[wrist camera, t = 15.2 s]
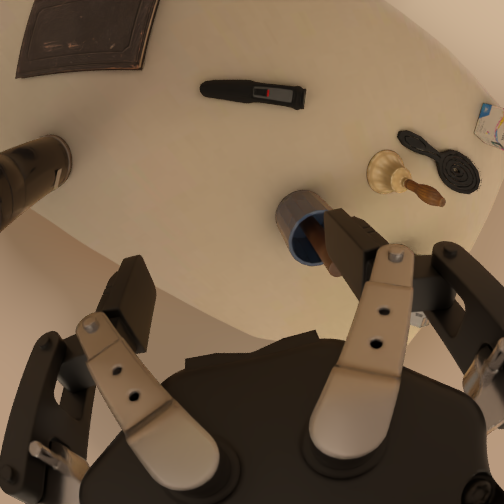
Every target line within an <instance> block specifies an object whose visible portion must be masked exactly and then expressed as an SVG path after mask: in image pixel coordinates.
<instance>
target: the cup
mask: <svg viewBox="0 0 504 504" xmlns="http://www.w3.org/2000/svg"><path fill="white" fill-rule="evenodd" d="M329 210H333V209H332V208H331V207H330V206H329V205H328V204H327V203H326V202H325V201H324V200H323V199H322V198H321V197H320V196H319V195H317V194H316V193H314V192H312V191H307V190H300V191H295V192H293V193H291V194H289V195H287V196H286V197H285V198H284V199H283V200H282V201H281V203H280V204H279V206H278V208H277V211H276V223H277V227H278V229H279V231H280V233H281V235H282V237H283V239H284V241H285V243H286V245H287V247H288V249H289V251H290V253H291V254H292V256H293V257H294V259H295V260H297V261H298V262H300V263H301V264H304V265H308V266H318V265H323V264H324V263H323V262H322V260H321V259H320V257H319V255H318V254H317V252H316V251H315V249H314V248H313V246H312V245H311V243H310V241H309V240H308V238H307V237H306V235H305V234H304V232H303V231H302V229H301V228H300V226H299V224H300V223H301V222H302V221H303V220H304V219H306V218H307V217H309V216H312V215H313V216H314V218H315V219H316V220H317V221H318V222H319V224H320V225H321V226H322V227H323V229H324V212H325V211H329Z"/></svg>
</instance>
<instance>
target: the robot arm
mask: <svg viewBox="0 0 504 504" xmlns="http://www.w3.org/2000/svg"><path fill="white" fill-rule="evenodd" d="M71 168H72V156H71V152H70V149H69V147H68V145H67V144H66V142H65V141H64V140H63V139H62V138H60V137H58V136H56V135H45V136H42V137H40V138H38V139H35V140H32V141H29V142H26V143H24V144H21V145H18V146H16V147H13V148H10V149H8V150H5V151H3V152H1V153H0V232H1V231H2V230H4V228H6V227H7V226H8V225H9V224H10V223H12V222H13V221H14V220H15V219H16V218H17V217H19V216H20V215H21V214H22V213H23V212H25V211H26V210H27V209H29V208H30V207H31V206H32V205H34V204H35V203H36V202H38V201H39V200H40V199H42V198H43V197H44V196H46V195H47V194H48V193H50V192H51V191H54V190H55V189H57V188H58V187H59V186H61V185H62V184H63V183H64V182H65V181H66V180H67V178H68V177H69V174H70V172H71ZM324 230H325V244H326V250H327V253H328V255H329V257H330V259H331V260H332V262H333V263H334V265H335V266H336V268H337V269H338V270H339V272H340V273H341V275H342V276H343V278H344V279H345V281H346V282H347V284H348V285H349V287H350V288H351V290H352V291H353V293H354V294H355V296H356V297H357V299H358V300H359V304H358V307H357V310H356V313H355V316H354V319H353V322H352V325H351V328H350V330H349V333H348V336H347V339H346V341H343V340H338V339H319V337H318V335H317V332H316V330H313V331H309V332H305V333H302V334H298V335H294V336H290V337H286V338H283V339H281V340H279V341H276V342H275V343H272V344H270V345H268V346H266V347H264V348H261V349H259V350H257V351H255V352H251V353H214V354H210V355H204V356H198V357H193V358H187V359H185V369H183V370H181V371H179V372H177V373H175V374H173V375H172V376H170V377H169V378H167V379H166V380H165V381H163V382H162V383H161V384H160V383H159V382H158V381H157V380H156V379H155V377H154V376H153V375H152V374H151V372H150V371H149V370H148V369H147V368H146V367H145V365H144V364H143V363H142V362H141V360H140V359H139V358H138V356H137V355H136V354H138V353H145V352H146V351H147V345H148V338H149V333H150V327H151V322H152V316H153V311H154V305H155V301H156V289H155V285H154V282H153V280H152V278H151V276H150V273H149V271H148V269H147V267H146V264H145V262H144V260H143V258H142V256H141V255H136V256H132V257H128V258H125V259H123V261H122V263H121V266H120V268H119V270H118V271H117V272H116V273H115V274H114V275H113V276H112V277H111V278H110V279H109V281H108V283H107V286H106V289H105V290H104V293H103V295H102V297H101V300H100V302H99V304H98V307H97V309H96V312H94V313H91V314H89V315H87V316H86V317H84V318H83V319H82V320H81V321H80V322H79V324H78V325H77V328H76V334H75V335H73V336H70V337H68V338H66V339H62V338H61V337H60V335H59V334H58V333H57V332H55V331H51V332H48V333H46V334H44V335H42V336H41V337H40V338H39V339H38V340H37V342H36V343H35V345H34V348H33V350H32V352H31V355H30V357H29V360H28V362H27V365H26V368H25V370H24V373H23V376H22V379H21V381H20V384H19V387H18V390H17V394H16V397H15V399H14V403H13V406H12V409H11V413H10V416H9V420H8V424H7V428H6V432H5V436H4V441H3V445H2V450H1V455H0V487H1V488H2V490H3V491H4V492H5V493H6V494H8V495H10V496H12V497H14V498H16V499H18V500H20V501H22V502H24V503H25V504H504V491H503V490H502V489H501V487H499V485H498V484H497V483H496V482H495V480H494V479H493V478H492V475H491V473H490V469H489V464H488V459H487V458H488V457H487V445H486V437H487V435H488V434H489V433H491V432H492V431H494V430H495V429H497V428H498V429H504V287H503V286H502V285H501V284H500V283H499V282H498V281H497V280H496V279H495V278H494V277H493V276H492V275H491V274H490V273H489V272H488V271H487V270H486V269H485V268H484V267H483V266H482V265H481V264H480V263H479V262H478V261H477V260H476V259H474V258H473V257H472V256H471V255H470V254H469V253H468V252H467V251H466V250H465V249H464V248H462V247H461V246H460V245H458V244H456V243H453V242H448V241H442V242H438V243H436V244H435V245H434V246H433V251H432V255H419V256H414V253H413V251H412V250H411V249H410V248H408V247H406V246H404V245H400V244H389V243H388V242H387V241H386V240H385V239H384V238H383V237H382V236H381V235H380V234H379V233H377V232H375V230H374V229H373V228H372V227H370V225H369V224H368V223H366V222H365V221H364V220H362V219H360V218H357V217H355V216H354V217H351V216H349V215H348V214H347V213H346V212H345V211H344V210H343V209H342V208H339V209H334V210H329V211H325V212H324ZM456 293H457V294H458V295H459V296H460V297H461V298H462V300H463V301H464V304H465V311H464V310H463V308H462V307H461V306H460V305H459V303H458V302H457V301H456V300H455V296H456ZM422 311H423V313H424V314H425V316H426V317H427V319H428V320H429V322H430V323H431V325H432V326H433V327H434V329H435V330H436V332H437V333H438V335H439V336H440V338H441V339H442V341H443V342H444V344H445V345H446V347H447V349H448V350H449V351H450V353H451V355H452V356H453V358H454V360H455V361H456V363H457V365H458V366H459V368H460V369H461V371H462V373H463V374H464V378H463V389H464V392H465V393H464V392H462V391H460V390H457V389H455V388H452V387H450V386H448V385H445V384H443V383H440V382H438V381H436V380H434V379H431V378H429V377H427V376H424V375H422V374H420V373H417V372H415V371H413V370H411V369H408V368H406V367H404V366H403V362H404V357H405V352H406V346H407V340H408V333H409V327H410V319H411V312H422ZM57 380H58V381H59V382H60V383H61V384H62V386H63V387H64V388H63V393H62V397H61V401H60V405H58V403H57V402H56V400H55V398H54V389H55V385H56V381H57ZM96 385H97V387H98V389H99V391H100V393H101V395H102V397H103V398H104V400H105V402H106V403H107V405H108V407H109V409H110V410H111V412H112V414H113V415H114V417H115V419H116V421H117V422H118V424H119V425H120V427H121V429H122V431H121V432H120V433H119V434H118V435H117V436H116V438H115V439H114V440H113V441H112V442H111V443H110V445H109V446H108V447H107V448H106V449H105V451H104V452H103V453H102V454H101V455H100V457H99V458H98V459H97V460H96V461H95V462H94V463H93V465H92V466H91V467H89V464H88V463H87V461H86V458H87V447H88V438H89V429H90V421H91V414H92V407H93V401H94V395H95V388H96Z"/></svg>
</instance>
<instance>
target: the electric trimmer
mask: <svg viewBox="0 0 504 504" xmlns="http://www.w3.org/2000/svg"><path fill="white" fill-rule="evenodd" d="M200 92H201V93H202V95H203V96H205V97H210V98H216V99H223V100H229V101H235V102H242V103H252V102H260V103H268V104H275V105H281V106H287V107H291V108H294V109H295V110H299V109H304V103H305V96H306V89H303V88H302V87H300V86H286V85H276V84H266V83H259V82H254V81H251V80H211V81H205V82H203V83H202V84H201V86H200Z"/></svg>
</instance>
